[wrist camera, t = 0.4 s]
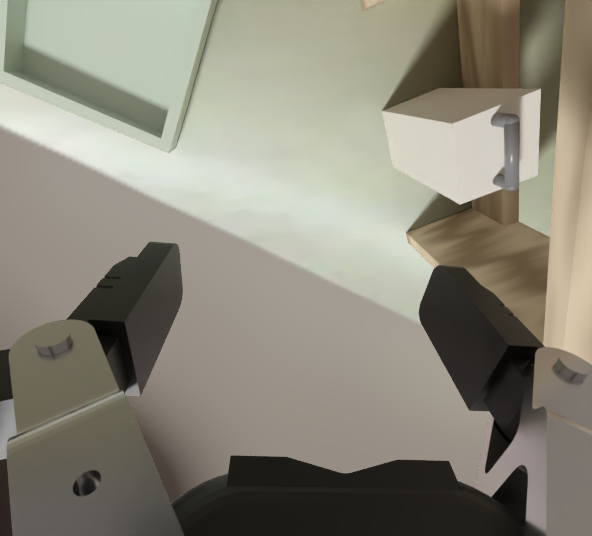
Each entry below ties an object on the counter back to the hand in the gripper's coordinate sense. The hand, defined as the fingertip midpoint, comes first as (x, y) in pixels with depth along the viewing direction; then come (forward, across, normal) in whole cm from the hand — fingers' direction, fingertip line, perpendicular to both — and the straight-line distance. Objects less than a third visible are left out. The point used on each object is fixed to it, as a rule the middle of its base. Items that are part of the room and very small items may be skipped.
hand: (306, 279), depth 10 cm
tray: (+20, +13, -7) cm, 25 cm away
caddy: (+22, -11, -2) cm, 24 cm away
